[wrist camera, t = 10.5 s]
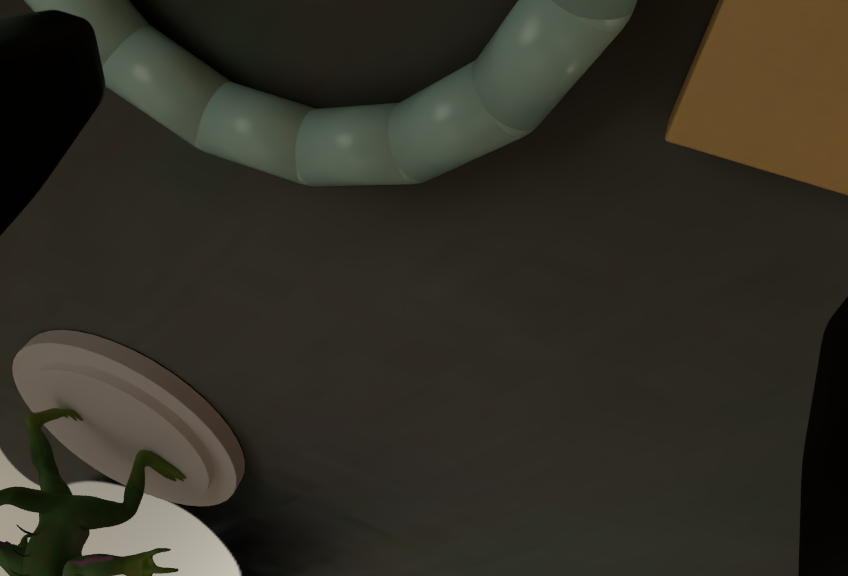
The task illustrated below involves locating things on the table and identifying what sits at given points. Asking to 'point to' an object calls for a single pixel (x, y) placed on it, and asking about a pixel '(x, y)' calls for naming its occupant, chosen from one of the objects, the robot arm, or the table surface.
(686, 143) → the stand
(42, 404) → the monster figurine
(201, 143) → the hoop
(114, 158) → the table surface
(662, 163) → the table surface
